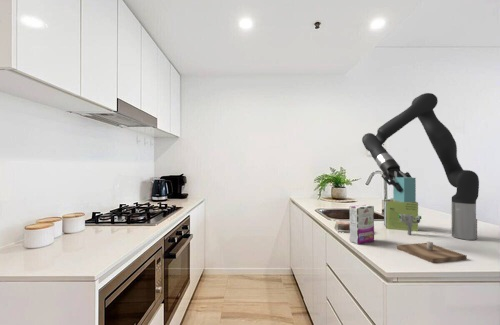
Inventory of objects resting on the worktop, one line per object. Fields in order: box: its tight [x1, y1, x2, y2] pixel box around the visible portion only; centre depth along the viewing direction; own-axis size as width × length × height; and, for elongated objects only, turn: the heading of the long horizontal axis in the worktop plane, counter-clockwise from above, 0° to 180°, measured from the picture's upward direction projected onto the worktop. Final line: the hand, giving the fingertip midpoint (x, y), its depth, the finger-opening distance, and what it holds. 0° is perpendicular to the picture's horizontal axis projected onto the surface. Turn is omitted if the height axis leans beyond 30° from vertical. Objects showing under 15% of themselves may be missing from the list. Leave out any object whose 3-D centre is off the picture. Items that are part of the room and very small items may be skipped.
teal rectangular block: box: [392, 176, 417, 202], centre depth 113 cm, size 6×6×11 cm
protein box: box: [383, 198, 419, 232], centre depth 143 cm, size 10×15×16 cm
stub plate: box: [396, 241, 468, 264], centre depth 101 cm, size 16×16×4 cm
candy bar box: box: [349, 204, 375, 245], centre depth 117 cm, size 11×5×16 cm, turn 117°
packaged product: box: [333, 221, 350, 234], centre depth 135 cm, size 18×5×10 cm
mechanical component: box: [398, 214, 422, 236], centre depth 129 cm, size 3×10×10 cm, turn 79°
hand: (407, 190), depth 111 cm, fingers closed on teal rectangular block, 6 cm apart
